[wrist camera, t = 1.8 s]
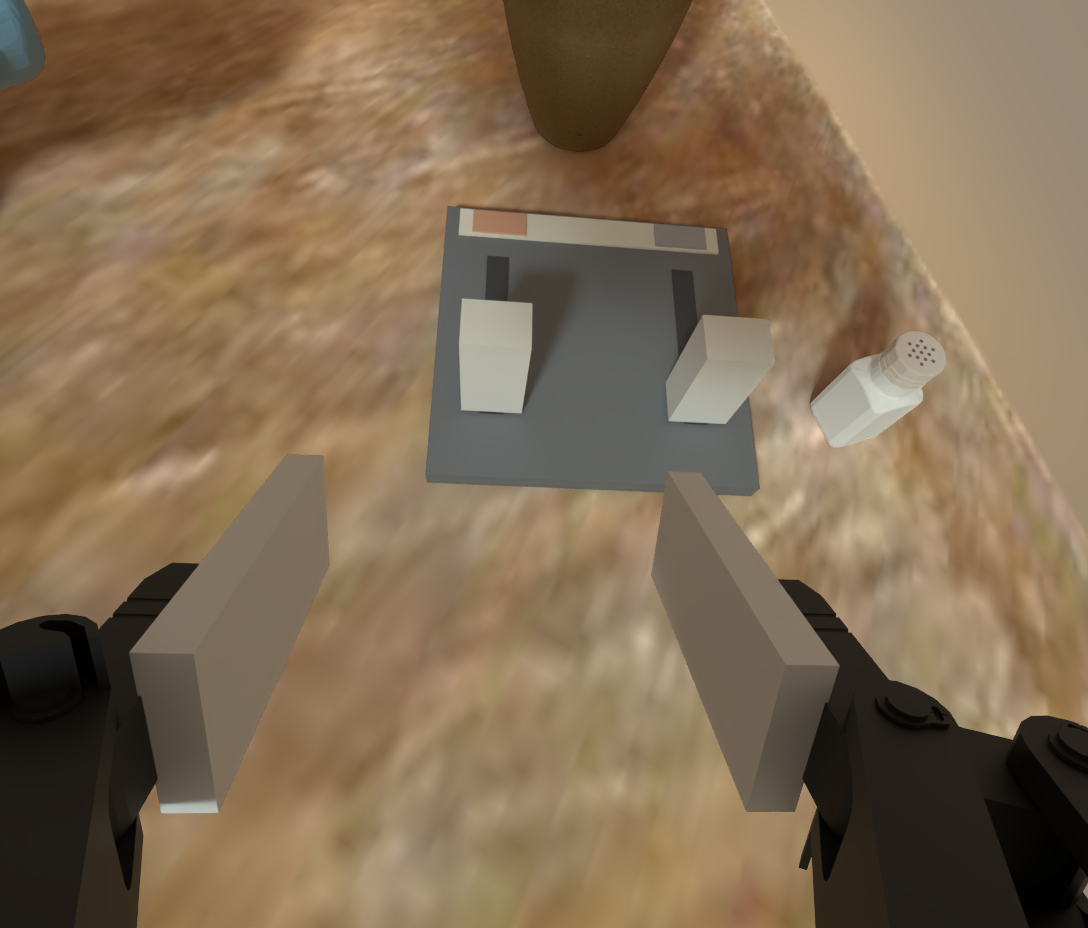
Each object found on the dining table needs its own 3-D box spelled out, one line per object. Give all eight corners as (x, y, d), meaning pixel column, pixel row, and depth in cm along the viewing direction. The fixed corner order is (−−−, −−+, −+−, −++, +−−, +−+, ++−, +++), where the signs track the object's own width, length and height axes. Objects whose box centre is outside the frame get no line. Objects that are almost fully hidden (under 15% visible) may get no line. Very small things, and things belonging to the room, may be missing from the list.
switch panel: (750, 496, 45) (762, 486, 43) (427, 482, 43) (425, 471, 41) (720, 241, 53) (728, 224, 52) (448, 220, 51) (447, 202, 50)
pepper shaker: (828, 452, 47) (910, 388, 38) (804, 404, 48) (877, 331, 40) (875, 439, 48) (965, 373, 39) (850, 392, 49) (932, 318, 40)
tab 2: (725, 424, 45) (775, 363, 38) (668, 421, 45) (707, 359, 37) (721, 385, 46) (768, 319, 39) (665, 382, 46) (702, 314, 38)
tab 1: (521, 413, 44) (531, 348, 36) (461, 410, 43) (458, 343, 36) (522, 374, 45) (532, 303, 37) (463, 370, 44) (461, 298, 37)
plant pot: (664, 79, 60) (726, -132, 46) (647, 200, 54) (712, 3, 40) (504, 45, 60) (515, -180, 45) (470, 164, 54) (469, -50, 39)
